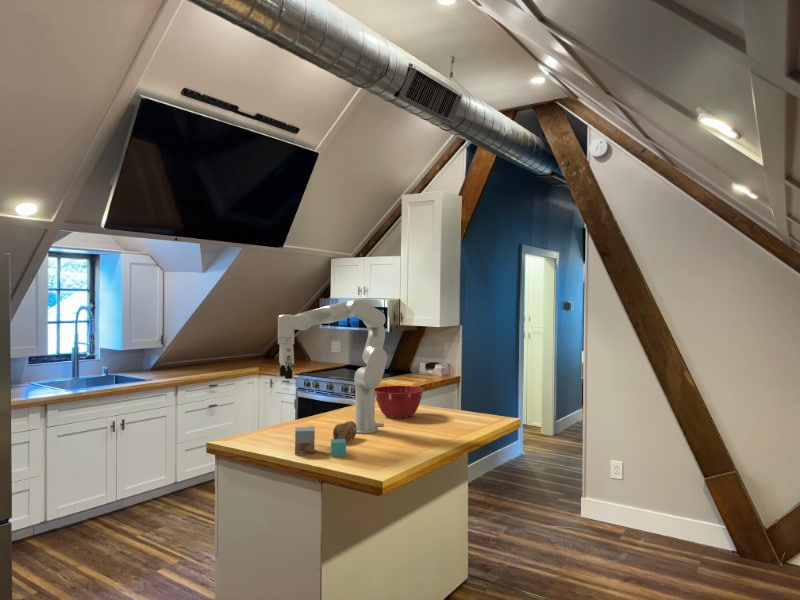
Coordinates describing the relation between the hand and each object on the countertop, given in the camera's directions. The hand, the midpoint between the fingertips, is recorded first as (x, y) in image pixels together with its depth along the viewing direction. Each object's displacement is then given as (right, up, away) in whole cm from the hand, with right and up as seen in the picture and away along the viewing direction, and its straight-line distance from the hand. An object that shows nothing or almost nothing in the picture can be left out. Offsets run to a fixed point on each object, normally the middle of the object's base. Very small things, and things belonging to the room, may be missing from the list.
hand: (285, 377), depth 265 cm
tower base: (+13, -29, -25) cm, 40 cm away
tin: (+28, -29, -4) cm, 40 cm away
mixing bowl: (+53, -29, +52) cm, 80 cm away
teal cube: (+28, -29, -29) cm, 49 cm away
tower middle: (+13, -24, -25) cm, 37 cm away
